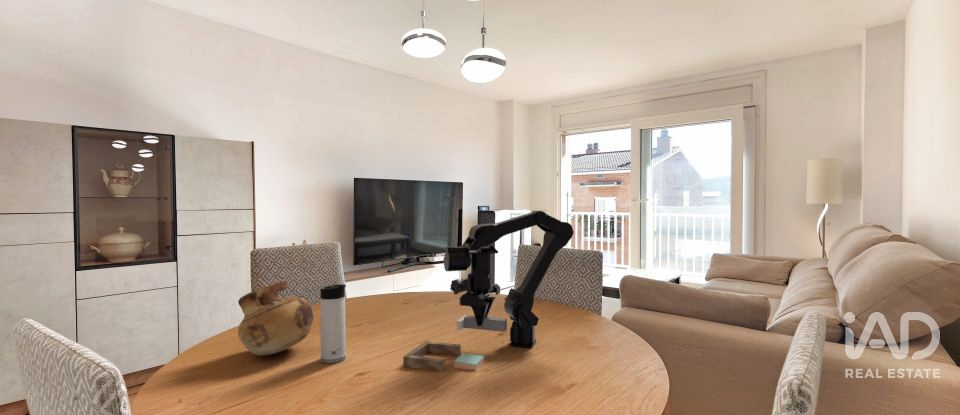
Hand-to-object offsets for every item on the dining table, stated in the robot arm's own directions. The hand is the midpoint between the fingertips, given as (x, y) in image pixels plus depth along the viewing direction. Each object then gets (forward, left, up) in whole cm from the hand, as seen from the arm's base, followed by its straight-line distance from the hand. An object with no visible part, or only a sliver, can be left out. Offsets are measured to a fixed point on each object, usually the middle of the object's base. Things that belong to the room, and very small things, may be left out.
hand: (481, 324), depth 121 cm
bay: (+9, +12, -7) cm, 17 cm away
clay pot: (+53, +21, -7) cm, 57 cm away
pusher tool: (-1, 0, -1) cm, 2 cm away
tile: (-1, +12, -7) cm, 14 cm away
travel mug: (+35, +20, -7) cm, 41 cm away
